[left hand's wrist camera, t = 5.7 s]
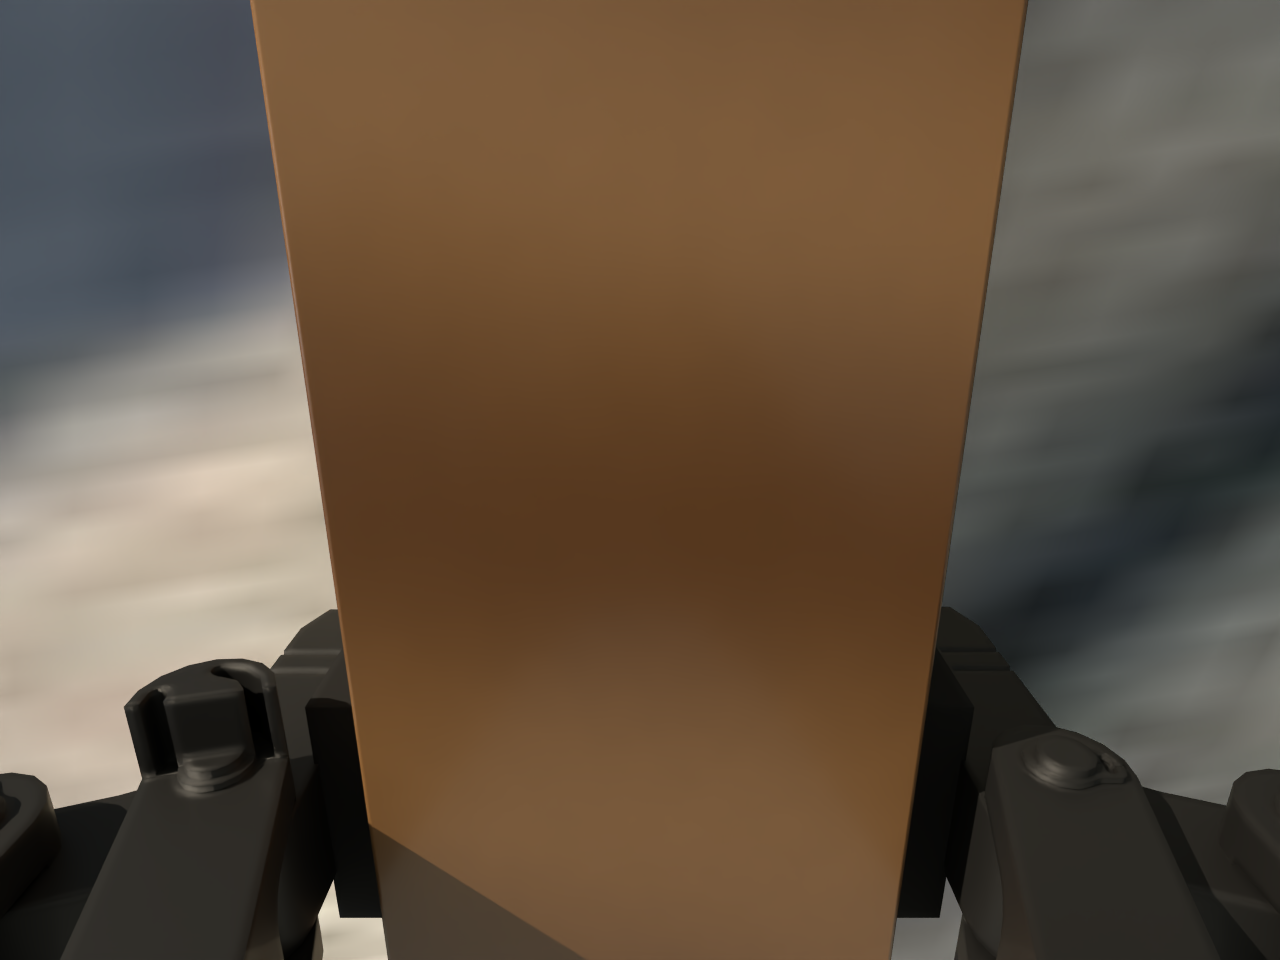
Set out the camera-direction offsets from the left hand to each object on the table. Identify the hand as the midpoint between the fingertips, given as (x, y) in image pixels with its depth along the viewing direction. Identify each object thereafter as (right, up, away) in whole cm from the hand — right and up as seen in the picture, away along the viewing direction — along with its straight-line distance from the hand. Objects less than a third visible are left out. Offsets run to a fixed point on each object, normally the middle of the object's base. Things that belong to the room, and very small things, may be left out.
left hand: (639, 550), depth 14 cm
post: (0, +27, -9) cm, 28 cm away
